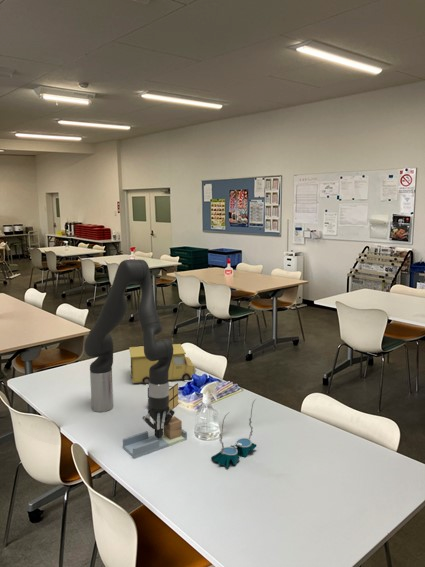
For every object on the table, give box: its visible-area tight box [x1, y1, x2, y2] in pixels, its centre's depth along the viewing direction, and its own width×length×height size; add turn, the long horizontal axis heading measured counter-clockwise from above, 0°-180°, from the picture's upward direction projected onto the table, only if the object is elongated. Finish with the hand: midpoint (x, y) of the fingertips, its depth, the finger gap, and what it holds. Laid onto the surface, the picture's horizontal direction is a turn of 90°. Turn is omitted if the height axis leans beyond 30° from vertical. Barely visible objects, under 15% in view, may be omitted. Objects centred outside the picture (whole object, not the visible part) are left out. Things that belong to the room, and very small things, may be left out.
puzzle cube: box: [147, 381, 179, 410], centre depth 200 cm, size 10×10×10 cm
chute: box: [122, 428, 188, 459], centre depth 168 cm, size 9×22×4 cm, turn 127°
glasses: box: [211, 398, 257, 468], centre depth 159 cm, size 18×9×20 cm, turn 137°
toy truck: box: [128, 343, 197, 386], centre depth 234 cm, size 24×35×15 cm
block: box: [163, 415, 183, 440], centre depth 172 cm, size 5×5×6 cm
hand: (158, 437), depth 169 cm, fingers closed
